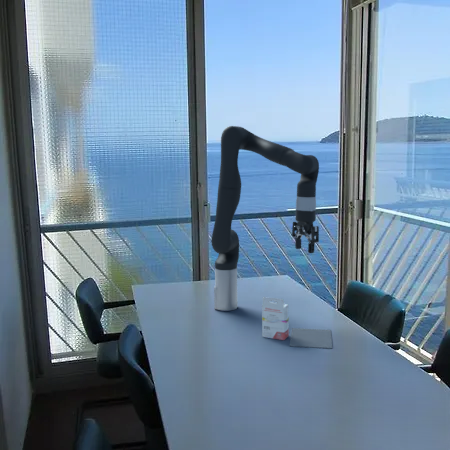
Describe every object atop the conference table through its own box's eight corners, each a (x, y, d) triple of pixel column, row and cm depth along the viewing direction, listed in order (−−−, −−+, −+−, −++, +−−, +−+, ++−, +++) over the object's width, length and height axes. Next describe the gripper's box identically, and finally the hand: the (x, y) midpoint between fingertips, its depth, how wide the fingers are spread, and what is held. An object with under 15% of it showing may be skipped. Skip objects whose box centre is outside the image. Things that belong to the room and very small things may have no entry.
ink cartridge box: (289, 336, 178) (289, 296, 176) (284, 340, 174) (284, 299, 171) (267, 332, 182) (267, 293, 180) (261, 336, 178) (261, 296, 175)
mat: (289, 346, 168) (289, 345, 168) (292, 328, 185) (292, 328, 185) (332, 348, 166) (332, 347, 166) (330, 330, 182) (330, 329, 182)
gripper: (287, 207, 193) (286, 248, 195) (308, 211, 180) (307, 255, 183) (303, 206, 196) (302, 246, 199) (325, 210, 183) (323, 253, 186)
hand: (304, 250), depth 191 cm, fingers open, 8 cm apart
